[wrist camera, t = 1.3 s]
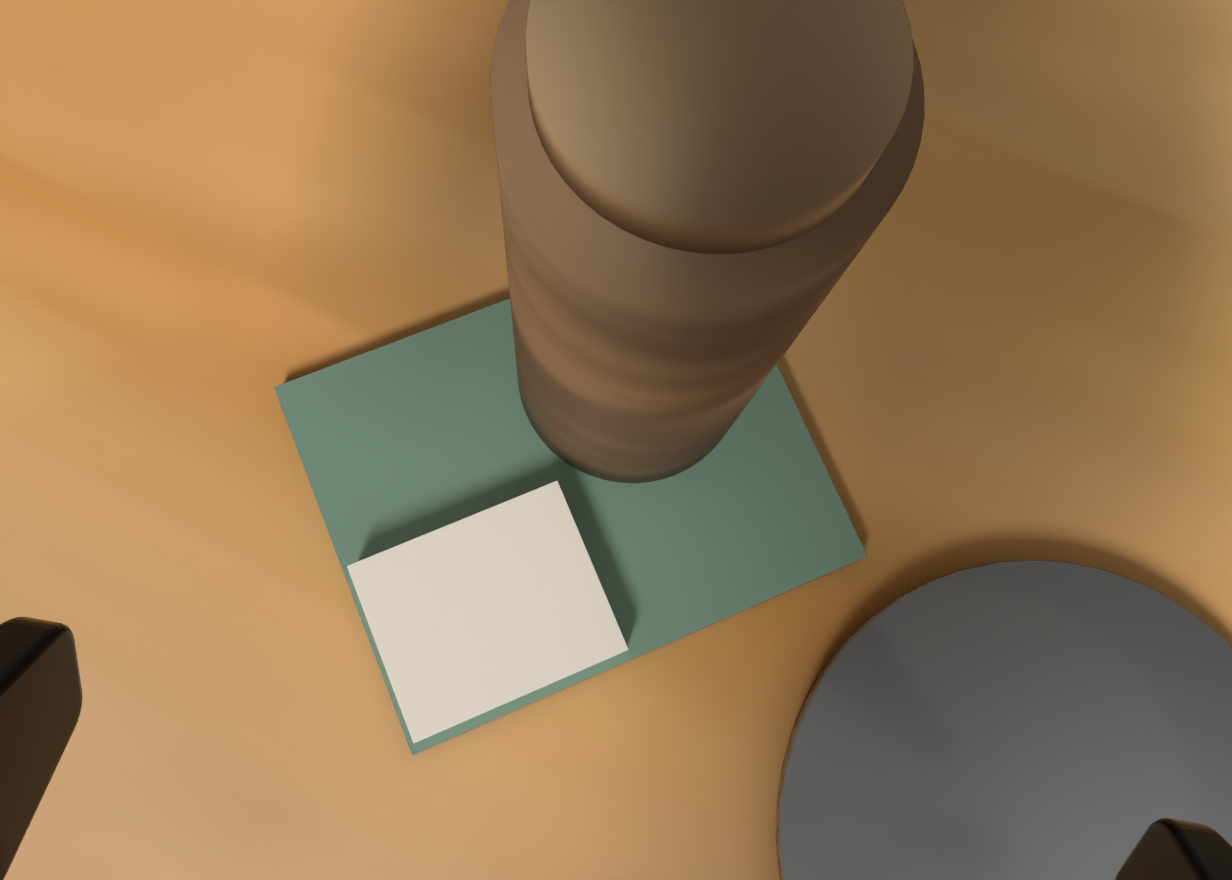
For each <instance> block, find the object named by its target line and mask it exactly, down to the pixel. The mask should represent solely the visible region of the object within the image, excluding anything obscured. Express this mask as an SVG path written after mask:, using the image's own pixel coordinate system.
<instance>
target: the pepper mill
mask: <svg viewBox="0 0 1232 880" xmlns="http://www.w3.org/2000/svg"><path fill="white" fill-rule="evenodd" d="M490 81H491V98H492V111H493V122H494V133H495V143H496V154H497V164H498V175H499V186H500V196H501V207H502V218H503V228H504V239H505V249H506V260H507V271H508V281H509V292H510V303H511V313H512V324H513V334H514V345H515V356H516V366H517V377H518V387H519V392H520V397H521V401H522V404H523V407H524V410H525V413H526V415H527V417H528V419H529V421H530V423H531V425H532V427H533V428H534V430H535V431H536V433H537V434H538V436H539V437H540V439H541V440H542V441H543V442H544V443H545V444H546V446H547V447H548V448H549V449H550V450H551V451H552V452H553V453H555V454H556V455H557V456H558V457H559V458H560V459H561V460H563V461H564V462H566V463H567V464H569V465H570V466H572V467H574V468H575V469H577V470H579V471H581V472H584V473H586V474H588V475H590V476H593V477H596V478H599V479H602V480H607V481H613V482H618V483H647V482H652V481H657V480H662V479H665V478H668V477H671V476H674V475H677V474H679V473H681V472H683V471H685V470H687V469H689V468H690V467H692V466H693V465H695V464H696V463H698V462H699V461H701V460H702V459H703V458H704V457H706V456H707V455H708V454H709V453H710V452H711V451H712V450H713V449H714V448H715V447H716V446H717V444H718V443H719V442H720V441H721V440H722V438H723V437H724V436H725V434H726V433H727V432H728V430H729V429H730V428H731V426H732V425H733V423H734V422H735V421H736V419H737V418H738V417H739V415H740V414H741V412H742V411H743V410H744V408H745V407H746V406H747V404H748V403H749V402H750V400H751V399H752V397H753V396H754V395H755V393H756V392H757V391H758V389H759V388H760V386H761V385H762V384H763V382H764V381H765V380H766V378H767V377H768V376H769V374H770V373H771V371H772V370H773V369H774V367H775V366H776V365H777V363H778V362H779V360H780V359H781V358H782V356H783V355H784V354H785V352H786V351H787V350H788V348H789V347H790V345H791V344H792V343H793V341H794V340H795V339H796V337H797V336H798V334H799V333H800V332H801V330H802V329H803V328H804V326H805V325H806V323H807V322H808V321H809V319H810V318H811V317H812V315H813V314H814V313H815V311H816V310H817V308H818V307H819V306H820V304H821V303H822V302H823V300H824V299H825V297H826V296H827V295H828V293H829V292H830V291H831V289H832V288H833V287H834V285H835V284H836V282H837V281H838V280H839V278H840V277H841V276H842V274H843V273H844V271H845V270H846V269H847V267H848V266H849V265H850V263H851V262H852V261H853V259H854V258H855V256H856V255H857V254H858V252H859V251H860V250H861V248H862V247H863V245H864V244H865V243H866V241H867V240H868V239H869V237H870V236H871V235H872V233H873V232H874V230H875V229H876V228H877V226H878V225H879V224H880V222H881V221H882V219H883V218H884V217H885V215H886V214H887V213H888V211H889V210H890V208H891V207H892V205H893V204H894V202H895V201H896V199H897V197H898V196H899V194H900V193H901V191H902V190H903V188H904V186H905V184H906V181H907V179H908V177H909V175H910V172H911V170H912V168H913V166H914V163H915V159H916V156H917V152H918V149H919V145H920V142H921V136H922V129H923V121H924V86H923V79H922V73H921V66H920V62H919V59H918V55H917V52H916V48H915V45H914V42H913V39H912V36H911V29H910V23H909V20H908V17H907V13H906V10H905V7H904V3H903V1H902V0H510V2H509V3H508V6H507V8H506V11H505V13H504V16H503V18H502V21H501V23H500V26H499V28H498V32H497V37H496V41H495V45H494V49H493V54H492V66H491V77H490Z"/></svg>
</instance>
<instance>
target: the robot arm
mask: <svg viewBox="0 0 1232 880" xmlns="http://www.w3.org/2000/svg"><path fill="white" fill-rule="evenodd" d="M81 707H82V688H81V681H80V675H79V668H78V661H77V654H76V647H75V640H74V636H73V633H72V631H71V630H70V629H69V627H68V626H66V625H64V624H62V623H56V622H51V621H45V620H39V619H34V618H28V617H17V618H13V619H10V620H8V621H6V622H4V623H2V624H0V880H4V878H5V876H6V874H7V872H8V869H9V867H10V865H11V863H12V861H13V859H14V857H15V855H16V852H17V850H18V848H19V846H20V844H21V842H22V840H23V837H24V835H25V833H26V831H27V829H28V827H29V825H30V823H31V820H32V818H33V816H34V814H35V812H36V810H37V808H38V805H39V803H40V801H41V799H42V797H43V795H44V793H45V791H46V788H47V786H48V784H49V782H50V780H51V778H52V776H53V773H54V771H55V769H56V767H57V765H58V763H59V761H60V759H61V756H62V754H63V752H64V750H65V748H66V746H67V744H68V741H69V739H70V737H71V735H72V733H73V731H74V729H75V726H76V724H77V722H78V718H79V715H80V711H81ZM1115 880H1232V846H1231V845H1230V844H1229V843H1228V842H1227V841H1226V840H1225V839H1224V838H1223V837H1222V836H1221V835H1220V834H1219V833H1218V832H1217V831H1215V830H1214V829H1212V828H1211V827H1208V826H1206V825H1203V824H1198V823H1193V822H1187V821H1181V820H1175V819H1170V818H1161V819H1159V820H1157V821H1155V822H1153V823H1152V824H1151V825H1150V826H1149V827H1148V829H1147V830H1146V832H1145V833H1144V835H1143V836H1142V838H1141V839H1140V841H1139V842H1138V843H1137V845H1136V846H1135V848H1134V849H1133V851H1132V852H1131V854H1130V855H1129V857H1128V858H1127V860H1126V861H1125V863H1124V864H1123V866H1122V867H1121V869H1120V870H1119V872H1118V873H1117V875H1116V878H1115Z"/></svg>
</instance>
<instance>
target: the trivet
mask: <svg viewBox="0 0 1232 880" xmlns="http://www.w3.org/2000/svg"><path fill="white" fill-rule="evenodd" d="M1161 818H1170V819H1175V820H1181V821H1187V822H1193V823H1198V824H1203V825H1206V826H1208V827H1211V828H1212V829H1214V830H1215V831H1217V832H1218V833H1219V834H1220V835H1221V836H1222V837H1223V838H1224V839H1225V840H1226V841H1227V842H1228V843H1229V844H1230V845H1231V846H1232V646H1231V645H1230V644H1229V643H1228V642H1227V641H1226V640H1225V639H1224V638H1223V637H1222V636H1220V635H1219V634H1218V633H1217V632H1215V631H1214V630H1213V629H1212V628H1211V627H1209V626H1208V625H1207V624H1206V623H1204V622H1203V621H1202V620H1201V619H1200V618H1198V617H1197V616H1196V615H1195V614H1193V613H1192V612H1190V611H1188V610H1187V609H1185V608H1184V607H1182V606H1181V605H1179V604H1177V603H1176V602H1174V601H1173V600H1171V599H1170V598H1168V597H1166V596H1165V595H1163V594H1161V593H1159V592H1157V591H1155V590H1153V589H1150V588H1148V587H1146V586H1144V585H1142V584H1140V583H1138V582H1136V581H1134V580H1131V579H1128V578H1125V577H1122V576H1119V575H1116V574H1113V573H1110V572H1107V571H1104V570H1101V569H1097V568H1092V567H1087V566H1082V565H1077V564H1072V563H1067V562H1053V561H1037V560H1028V561H1014V562H1000V563H994V564H990V565H985V566H980V567H976V568H971V569H966V570H962V571H959V572H955V573H952V574H949V575H947V576H944V577H941V578H938V579H936V580H933V581H930V582H927V583H925V584H923V585H921V586H919V587H917V588H915V589H913V590H911V591H910V592H908V593H906V594H904V595H902V596H900V597H898V598H896V599H895V600H893V601H892V602H891V603H889V604H888V605H887V606H885V607H884V608H882V609H881V610H880V611H878V612H877V613H876V614H874V615H873V616H871V617H870V618H869V619H868V620H867V621H866V622H865V623H864V624H862V625H861V626H860V627H859V628H858V629H857V630H856V631H855V632H854V633H853V634H852V635H851V636H850V637H849V638H848V639H847V640H846V641H845V642H844V643H843V644H842V646H841V647H840V648H839V650H838V651H837V652H836V653H835V655H834V656H833V657H832V659H831V660H830V661H829V662H828V664H827V665H826V666H825V667H824V669H823V670H822V672H821V674H820V676H819V677H818V679H817V681H816V682H815V684H814V686H813V687H812V689H811V691H810V693H809V694H808V696H807V698H806V700H805V702H804V704H803V707H802V709H801V712H800V714H799V716H798V719H797V721H796V723H795V726H794V728H793V731H792V734H791V737H790V741H789V744H788V748H787V752H786V755H785V759H784V763H783V766H782V772H781V779H780V786H779V793H778V800H777V829H776V844H777V854H778V864H779V873H780V880H1115V878H1116V875H1117V873H1118V872H1119V870H1120V869H1121V867H1122V866H1123V864H1124V863H1125V861H1126V860H1127V858H1128V857H1129V855H1130V854H1131V852H1132V851H1133V849H1134V848H1135V846H1136V845H1137V843H1138V842H1139V841H1140V839H1141V838H1142V836H1143V835H1144V833H1145V832H1146V830H1147V829H1148V827H1149V826H1150V825H1151V824H1152V823H1153V822H1155V821H1157V820H1159V819H1161Z"/></svg>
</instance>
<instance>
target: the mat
mask: <svg viewBox="0 0 1232 880" xmlns="http://www.w3.org/2000/svg"><path fill="white" fill-rule="evenodd" d="M275 390H276V393H277V395H278V398H279V401H280V403H281V406H282V409H283V411H284V414H285V417H286V419H287V422H288V425H289V427H290V430H291V433H292V435H293V438H294V441H295V443H296V446H297V449H298V451H299V454H300V457H301V459H302V462H303V465H304V467H305V470H306V473H307V475H308V478H309V481H310V483H311V486H312V489H313V491H314V494H315V497H316V499H317V502H318V505H319V507H320V510H321V513H322V515H323V518H324V521H325V523H326V526H327V529H328V531H329V534H330V537H331V539H332V542H333V545H334V547H335V550H336V553H337V555H338V558H339V561H340V563H341V566H342V569H343V571H344V574H345V577H346V579H347V582H348V585H349V587H350V590H351V593H352V595H353V598H354V601H355V603H356V606H357V609H358V611H359V614H360V617H361V619H362V622H363V625H364V627H365V630H366V633H367V635H368V638H369V641H370V643H371V646H372V649H373V651H374V654H375V657H376V659H377V662H378V665H379V667H380V670H381V673H382V675H383V678H384V681H385V683H386V686H387V689H388V691H389V694H390V697H391V699H392V702H393V705H394V707H395V710H396V713H397V715H398V718H399V721H400V723H401V726H402V729H403V731H404V734H405V737H406V739H407V742H408V745H409V747H410V750H411V753H412V755H414V754H417V753H419V752H421V751H423V750H426V749H428V748H430V747H433V746H435V745H437V744H439V743H442V742H444V741H446V740H449V739H451V738H453V737H455V736H458V735H460V734H462V733H465V732H467V731H469V730H471V729H474V728H476V727H478V726H481V725H483V724H485V723H487V722H490V721H492V720H494V719H497V718H499V717H501V716H503V715H506V714H508V713H510V712H512V711H515V710H517V709H519V708H522V707H524V706H526V705H528V704H531V703H533V702H535V701H538V700H540V699H542V698H544V697H547V696H549V695H551V694H554V693H556V692H558V691H560V690H563V689H565V688H567V687H570V686H572V685H574V684H576V683H579V682H581V681H583V680H586V679H588V678H590V677H592V676H595V675H597V674H599V673H602V672H604V671H606V670H608V669H611V668H613V667H615V666H618V665H620V664H622V663H624V662H627V661H629V660H631V659H634V658H636V657H638V656H640V655H643V654H645V653H647V652H650V651H652V650H654V649H656V648H659V647H661V646H663V645H666V644H668V643H670V642H672V641H675V640H677V639H679V638H682V637H684V636H686V635H688V634H691V633H693V632H695V631H698V630H700V629H702V628H704V627H707V626H709V625H711V624H714V623H716V622H718V621H720V620H723V619H725V618H727V617H730V616H732V615H734V614H736V613H739V612H741V611H743V610H746V609H748V608H750V607H752V606H755V605H757V604H759V603H762V602H764V601H766V600H768V599H771V598H773V597H775V596H777V595H780V594H782V593H784V592H787V591H789V590H791V589H793V588H796V587H798V586H800V585H803V584H805V583H807V582H809V581H812V580H814V579H816V578H819V577H821V576H823V575H825V574H828V573H830V572H832V571H835V570H837V569H839V568H841V567H844V566H846V565H848V564H851V563H853V562H855V561H857V560H860V559H862V558H864V557H867V554H866V552H865V550H864V548H863V546H862V543H861V541H860V539H859V537H858V535H857V533H856V531H855V529H854V526H853V524H852V522H851V520H850V518H849V516H848V514H847V512H846V510H845V507H844V505H843V503H842V501H841V499H840V497H839V495H838V493H837V490H836V488H835V486H834V484H833V482H832V480H831V478H830V476H829V474H828V471H827V469H826V467H825V465H824V463H823V461H822V459H821V457H820V454H819V452H818V450H817V448H816V446H815V444H814V442H813V440H812V437H811V435H810V433H809V431H808V429H807V427H806V425H805V423H804V421H803V418H802V416H801V414H800V412H799V410H798V408H797V406H796V404H795V401H794V399H793V397H792V395H791V393H790V391H789V389H788V387H787V385H786V382H785V380H784V378H783V376H782V374H781V372H780V370H779V368H778V365H776V366H775V367H774V369H773V370H772V371H771V373H770V374H769V376H768V377H767V378H766V380H765V381H764V382H763V384H762V385H761V386H760V388H759V389H758V391H757V392H756V393H755V395H754V396H753V397H752V399H751V400H750V402H749V403H748V404H747V406H746V407H745V408H744V410H743V411H742V412H741V414H740V415H739V417H738V418H737V419H736V421H735V422H734V423H733V425H732V426H731V428H730V429H729V430H728V432H727V433H726V434H725V436H724V437H723V438H722V440H721V441H720V442H719V443H718V444H717V446H716V447H715V448H714V449H713V450H712V451H711V452H710V453H709V454H708V455H707V456H706V457H704V458H703V459H702V460H701V461H699V462H698V463H696V464H695V465H693V466H692V467H690V468H689V469H687V470H685V471H683V472H681V473H679V474H677V475H674V476H671V477H668V478H665V479H662V480H657V481H652V482H647V483H618V482H613V481H607V480H602V479H599V478H596V477H593V476H590V475H588V474H586V473H584V472H581V471H579V470H577V469H575V468H574V467H572V466H570V465H569V464H567V463H566V462H564V461H563V460H561V459H560V458H559V457H558V456H557V455H556V454H555V453H553V452H552V451H551V450H550V449H549V448H548V447H547V446H546V444H545V443H544V442H543V441H542V440H541V439H540V437H539V436H538V434H537V433H536V431H535V430H534V428H533V427H532V425H531V423H530V421H529V419H528V417H527V415H526V413H525V410H524V407H523V404H522V401H521V397H520V392H519V387H518V377H517V366H516V356H515V345H514V334H513V324H512V313H511V303H510V298H509V299H507V300H504V301H501V302H499V303H496V304H493V305H491V306H488V307H485V308H483V309H480V310H477V311H475V312H472V313H470V314H467V315H464V316H462V317H459V318H456V319H454V320H451V321H448V322H446V323H443V324H440V325H438V326H435V327H432V328H430V329H427V330H424V331H422V332H419V333H416V334H414V335H411V336H409V337H406V338H403V339H401V340H398V341H395V342H393V343H390V344H387V345H385V346H382V347H379V348H377V349H374V350H371V351H369V352H366V353H363V354H361V355H358V356H355V357H353V358H350V359H348V360H345V361H342V362H340V363H337V364H334V365H332V366H329V367H326V368H324V369H321V370H318V371H316V372H313V373H310V374H308V375H305V376H302V377H300V378H297V379H294V380H292V381H289V382H287V383H284V384H281V385H279V386H276V387H275Z"/></svg>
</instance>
